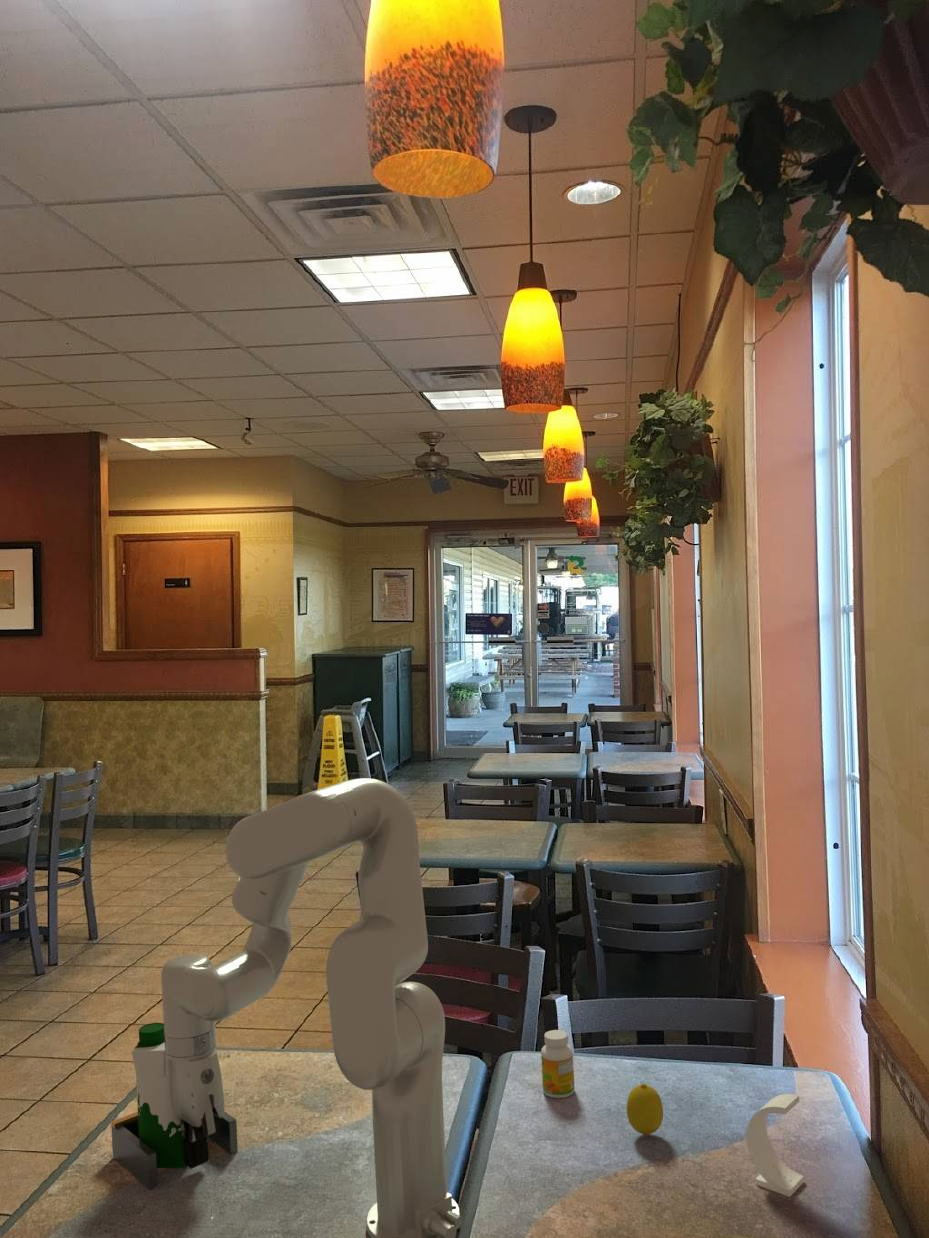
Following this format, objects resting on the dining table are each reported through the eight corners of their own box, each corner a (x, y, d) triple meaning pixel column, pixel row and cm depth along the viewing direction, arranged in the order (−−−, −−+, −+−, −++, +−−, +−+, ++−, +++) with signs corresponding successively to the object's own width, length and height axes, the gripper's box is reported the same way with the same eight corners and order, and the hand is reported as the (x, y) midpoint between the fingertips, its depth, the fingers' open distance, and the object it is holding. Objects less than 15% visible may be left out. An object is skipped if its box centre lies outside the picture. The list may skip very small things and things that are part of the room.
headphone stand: (789, 1197, 134) (784, 1108, 135) (748, 1182, 139) (743, 1096, 139) (804, 1181, 138) (799, 1095, 138) (763, 1167, 142) (758, 1083, 142)
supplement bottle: (537, 1089, 170) (534, 1032, 170) (564, 1081, 172) (561, 1025, 172) (553, 1101, 165) (550, 1043, 165) (580, 1094, 167) (577, 1036, 167)
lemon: (623, 1141, 151) (620, 1088, 151) (634, 1124, 156) (631, 1073, 156) (658, 1148, 149) (655, 1094, 149) (668, 1131, 154) (666, 1079, 154)
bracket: (237, 1151, 154) (236, 1115, 154) (149, 1190, 144) (147, 1151, 145) (197, 1123, 164) (196, 1089, 164) (112, 1157, 154) (111, 1121, 154)
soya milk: (155, 1141, 158) (149, 1016, 159) (209, 1141, 158) (203, 1015, 158) (131, 1171, 150) (125, 1039, 150) (189, 1171, 149) (183, 1038, 149)
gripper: (237, 1046, 146) (244, 1171, 146) (190, 1020, 157) (196, 1136, 157) (190, 1063, 141) (197, 1192, 141) (145, 1035, 152) (151, 1155, 152)
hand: (196, 1162), depth 149 cm, fingers closed
